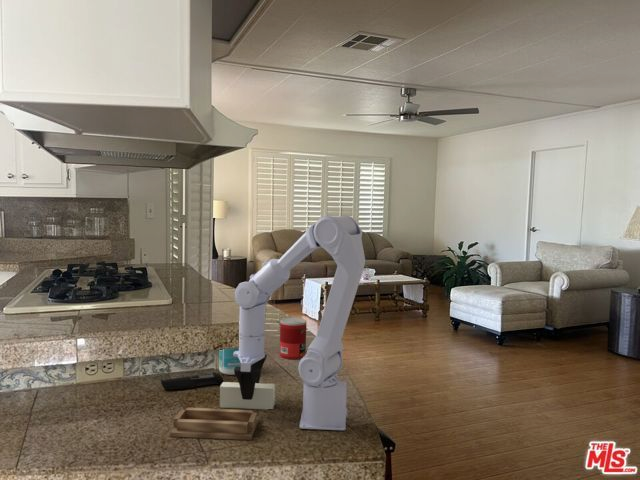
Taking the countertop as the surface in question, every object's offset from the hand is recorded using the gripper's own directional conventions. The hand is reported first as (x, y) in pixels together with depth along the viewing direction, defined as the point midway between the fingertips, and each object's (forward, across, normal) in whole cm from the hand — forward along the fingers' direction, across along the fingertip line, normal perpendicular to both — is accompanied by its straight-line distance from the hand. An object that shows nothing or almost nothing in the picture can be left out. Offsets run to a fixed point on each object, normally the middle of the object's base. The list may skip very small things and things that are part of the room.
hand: (250, 392), depth 115 cm
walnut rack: (+3, +12, -5) cm, 13 cm away
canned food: (+3, -39, +6) cm, 40 cm away
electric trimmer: (+4, -11, -16) cm, 20 cm away
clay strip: (+3, 0, -1) cm, 3 cm away
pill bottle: (+3, -23, -9) cm, 25 cm away
